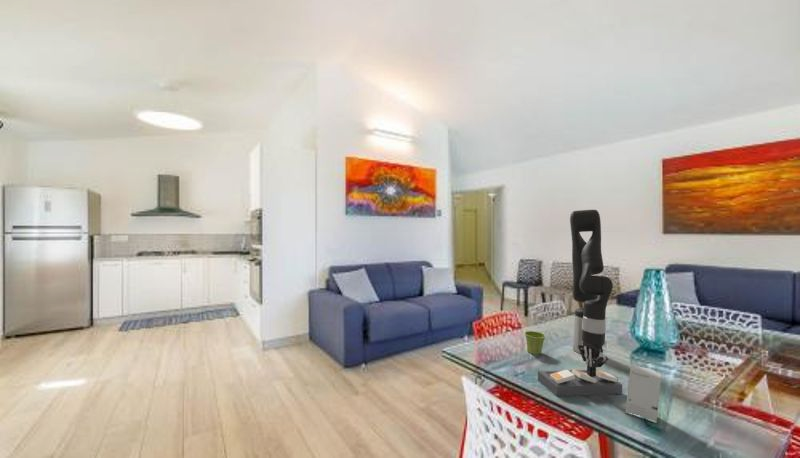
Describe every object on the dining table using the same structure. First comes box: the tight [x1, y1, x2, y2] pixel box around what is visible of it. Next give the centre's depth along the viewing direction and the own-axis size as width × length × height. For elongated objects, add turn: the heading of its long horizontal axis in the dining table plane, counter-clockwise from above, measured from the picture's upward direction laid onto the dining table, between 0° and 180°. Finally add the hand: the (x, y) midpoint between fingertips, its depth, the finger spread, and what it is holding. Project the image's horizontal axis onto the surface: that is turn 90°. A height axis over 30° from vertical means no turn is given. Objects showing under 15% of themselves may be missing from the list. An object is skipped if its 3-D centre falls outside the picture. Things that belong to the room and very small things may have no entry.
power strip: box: [537, 369, 623, 397], centre depth 124 cm, size 32×12×4 cm, turn 98°
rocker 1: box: [550, 369, 575, 384], centre depth 120 cm, size 7×4×2 cm, turn 98°
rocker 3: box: [596, 369, 619, 382], centre depth 122 cm, size 7×4×2 cm, turn 99°
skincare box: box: [625, 364, 662, 423], centre depth 106 cm, size 8×6×15 cm
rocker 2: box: [572, 368, 597, 383], centre depth 121 cm, size 7×4×2 cm, turn 99°
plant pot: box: [524, 330, 547, 355], centre depth 157 cm, size 9×9×9 cm
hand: (591, 375), depth 122 cm, fingers closed
